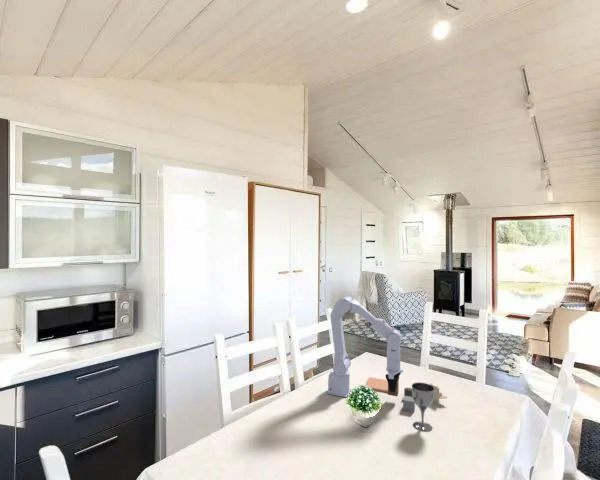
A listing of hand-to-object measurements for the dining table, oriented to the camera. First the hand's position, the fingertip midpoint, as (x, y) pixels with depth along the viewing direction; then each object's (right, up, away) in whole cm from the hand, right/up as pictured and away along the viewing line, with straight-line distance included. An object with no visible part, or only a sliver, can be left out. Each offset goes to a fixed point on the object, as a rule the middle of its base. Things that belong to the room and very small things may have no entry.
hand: (393, 389), depth 150 cm
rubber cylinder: (+8, -5, +3) cm, 10 cm away
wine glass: (+6, -6, -20) cm, 21 cm away
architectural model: (+19, -6, +1) cm, 20 cm away
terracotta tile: (-2, -5, +16) cm, 17 cm away
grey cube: (+5, -5, -6) cm, 10 cm away
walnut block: (0, -2, 0) cm, 2 cm away
